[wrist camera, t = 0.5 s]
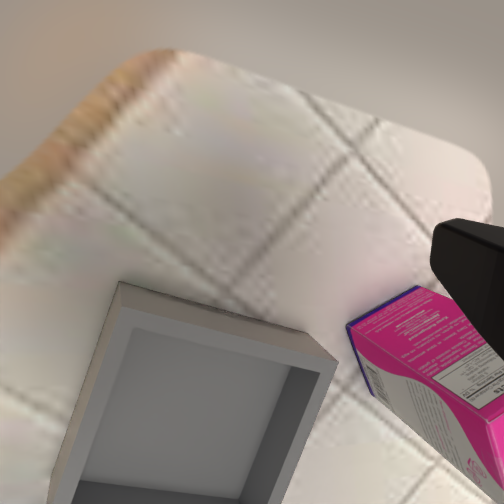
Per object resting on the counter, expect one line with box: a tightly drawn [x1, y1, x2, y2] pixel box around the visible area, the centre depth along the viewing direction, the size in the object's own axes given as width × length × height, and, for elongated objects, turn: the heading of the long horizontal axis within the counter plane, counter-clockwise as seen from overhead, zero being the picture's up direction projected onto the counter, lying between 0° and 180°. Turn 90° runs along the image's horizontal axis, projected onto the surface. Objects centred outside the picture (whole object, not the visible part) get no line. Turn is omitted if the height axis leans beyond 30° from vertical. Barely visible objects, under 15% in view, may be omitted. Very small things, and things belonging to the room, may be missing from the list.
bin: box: [47, 281, 339, 504], centre depth 25 cm, size 12×12×4 cm
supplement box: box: [346, 286, 504, 504], centre depth 25 cm, size 6×6×12 cm
